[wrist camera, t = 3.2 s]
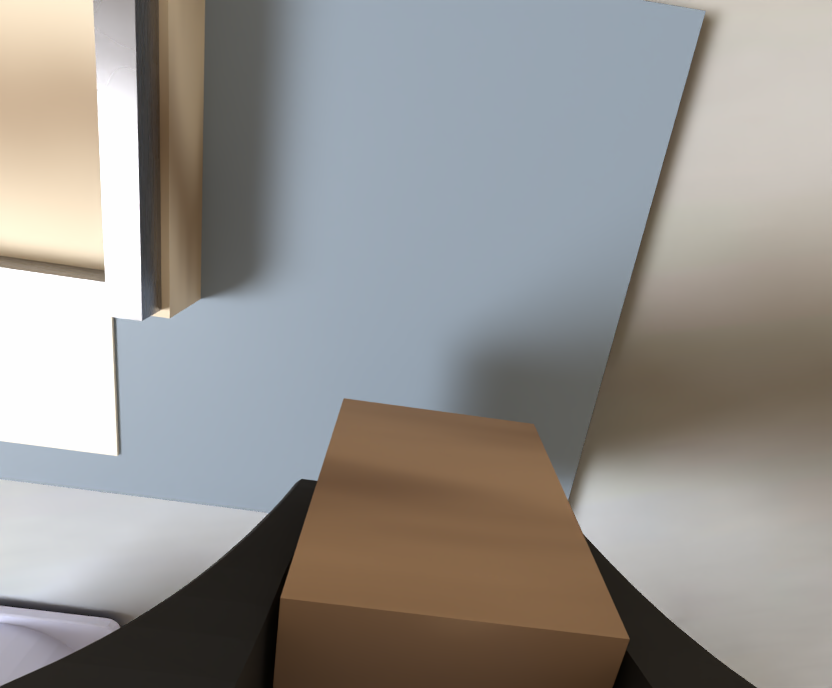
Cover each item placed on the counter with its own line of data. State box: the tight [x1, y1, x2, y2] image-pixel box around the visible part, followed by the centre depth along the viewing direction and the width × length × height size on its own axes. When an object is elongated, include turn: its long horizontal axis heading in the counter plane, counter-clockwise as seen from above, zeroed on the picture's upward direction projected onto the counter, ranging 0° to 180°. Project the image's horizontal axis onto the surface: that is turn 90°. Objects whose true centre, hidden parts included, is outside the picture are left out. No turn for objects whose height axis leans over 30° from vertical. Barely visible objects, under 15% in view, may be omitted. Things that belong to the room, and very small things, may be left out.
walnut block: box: [273, 398, 630, 688], centre depth 10 cm, size 4×4×6 cm
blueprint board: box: [0, 0, 706, 513], centre depth 14 cm, size 16×22×4 cm
